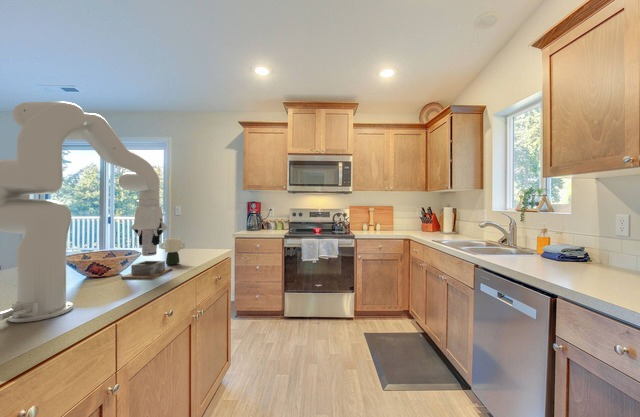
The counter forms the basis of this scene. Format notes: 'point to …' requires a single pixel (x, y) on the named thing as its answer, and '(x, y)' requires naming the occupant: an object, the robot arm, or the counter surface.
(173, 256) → the character mug
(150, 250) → the energy drink
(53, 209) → the robot arm
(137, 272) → the can holder
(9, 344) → the counter surface
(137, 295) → the counter surface
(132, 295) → the counter surface
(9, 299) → the counter surface
